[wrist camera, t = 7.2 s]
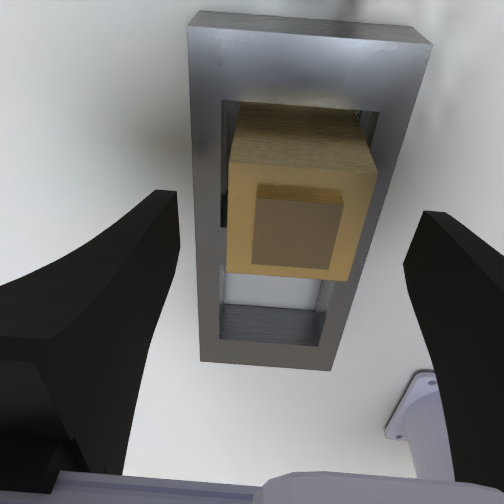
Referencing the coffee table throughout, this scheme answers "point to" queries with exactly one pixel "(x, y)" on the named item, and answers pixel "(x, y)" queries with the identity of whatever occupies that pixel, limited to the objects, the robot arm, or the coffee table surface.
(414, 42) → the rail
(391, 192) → the coffee table surface
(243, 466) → the coffee table surface
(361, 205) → the wooden block
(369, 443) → the coffee table surface
